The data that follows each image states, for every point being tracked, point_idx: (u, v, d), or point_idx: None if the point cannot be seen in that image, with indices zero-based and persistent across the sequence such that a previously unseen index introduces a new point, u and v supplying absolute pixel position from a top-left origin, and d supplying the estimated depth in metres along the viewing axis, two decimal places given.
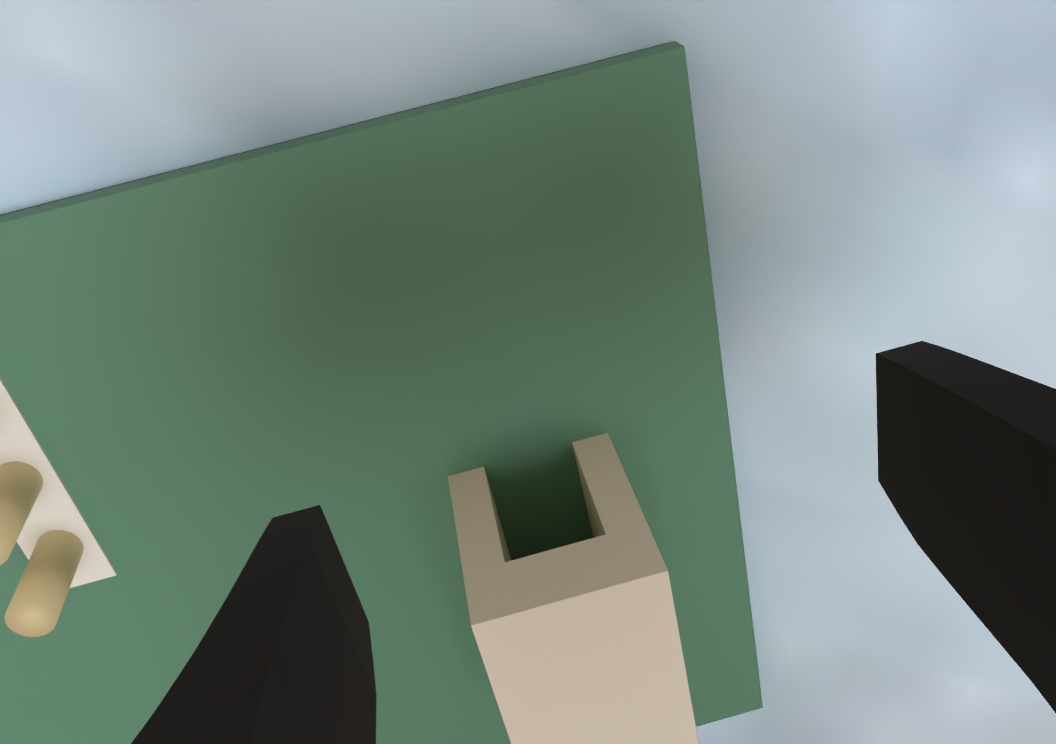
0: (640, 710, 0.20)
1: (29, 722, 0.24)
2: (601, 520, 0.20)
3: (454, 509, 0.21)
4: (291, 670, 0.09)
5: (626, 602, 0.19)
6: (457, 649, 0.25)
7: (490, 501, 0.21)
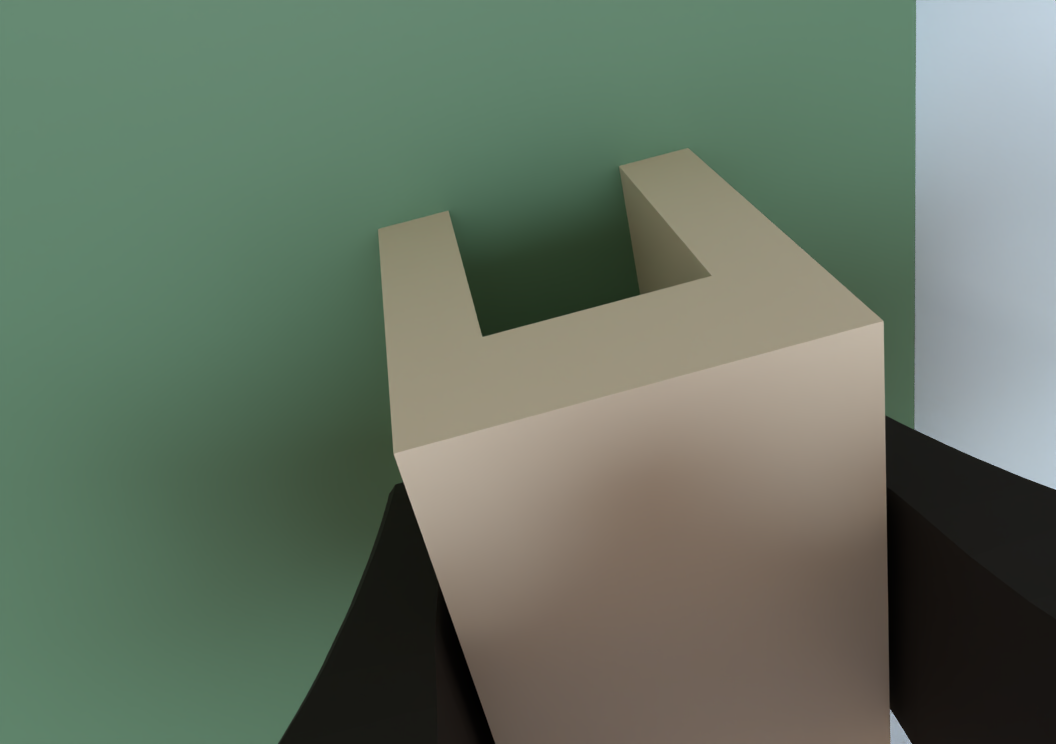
0: (779, 678, 0.09)
1: None
2: (697, 257, 0.09)
3: (384, 269, 0.10)
4: (449, 627, 0.09)
5: (776, 406, 0.08)
6: None
7: (457, 252, 0.10)
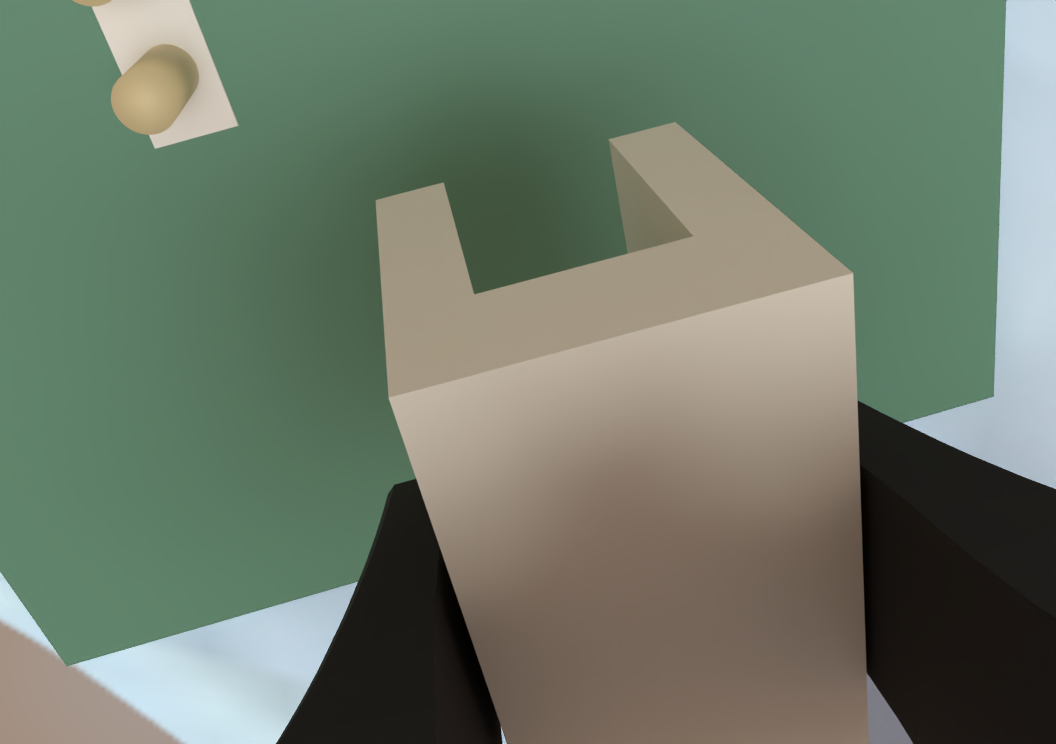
0: (758, 624, 0.10)
1: (122, 356, 0.19)
2: (680, 220, 0.10)
3: (380, 236, 0.11)
4: (446, 628, 0.09)
5: (751, 355, 0.08)
6: None
7: (451, 219, 0.11)
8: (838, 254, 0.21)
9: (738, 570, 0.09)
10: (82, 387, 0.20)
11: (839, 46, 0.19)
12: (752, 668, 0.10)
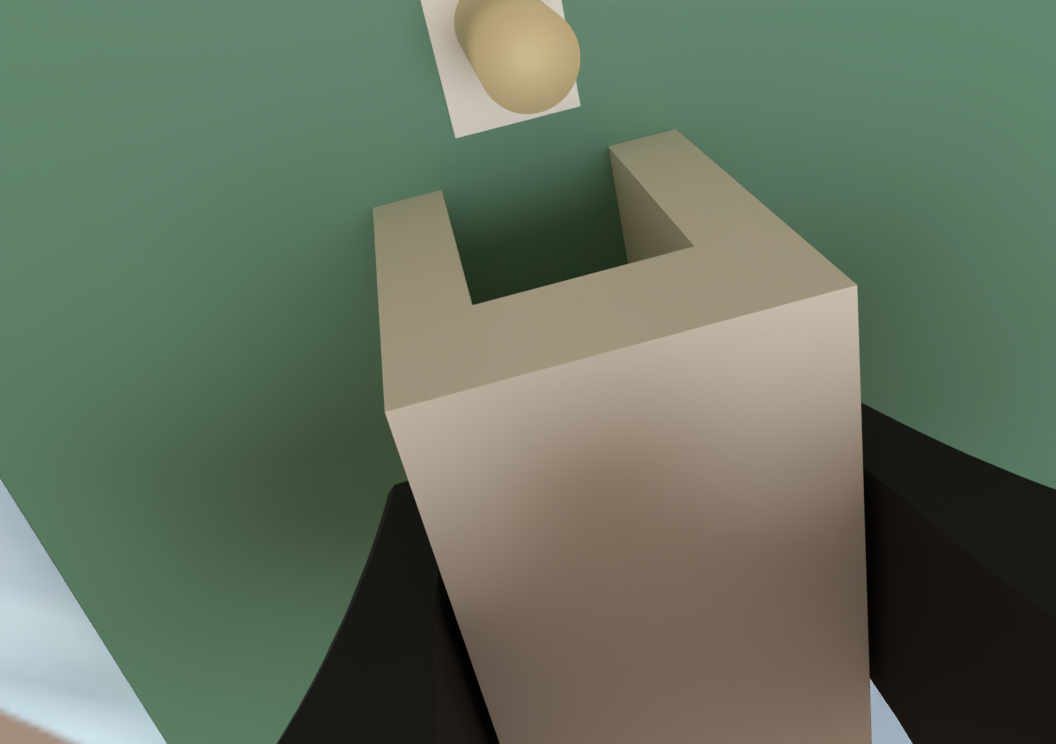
0: (761, 638, 0.10)
1: (359, 436, 0.13)
2: (681, 230, 0.09)
3: (378, 245, 0.11)
4: (446, 627, 0.09)
5: (754, 368, 0.08)
6: None
7: (449, 228, 0.11)
8: None
9: (740, 585, 0.09)
10: (298, 479, 0.14)
11: None
12: (754, 683, 0.10)
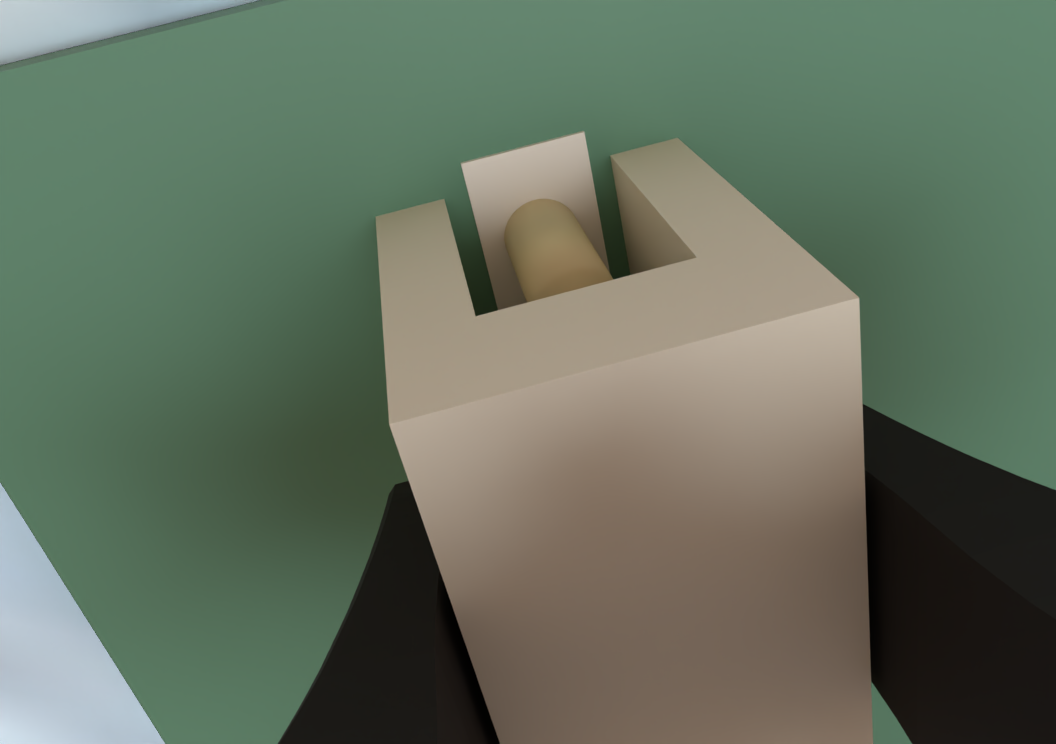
0: (763, 648, 0.10)
1: None
2: (683, 240, 0.09)
3: (381, 254, 0.11)
4: (448, 627, 0.09)
5: (756, 380, 0.08)
6: None
7: (452, 238, 0.11)
8: None
9: (742, 594, 0.09)
10: None
11: None
12: (756, 692, 0.10)
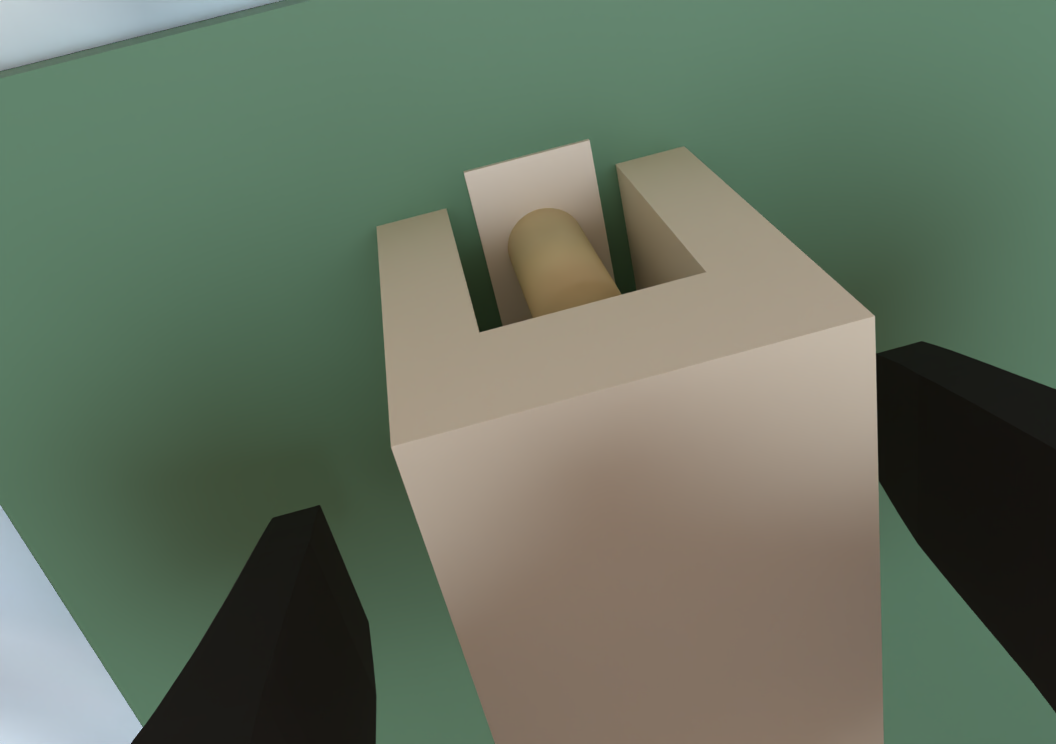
0: (773, 670, 0.09)
1: None
2: (692, 254, 0.09)
3: (382, 266, 0.11)
4: (292, 671, 0.09)
5: (769, 400, 0.08)
6: None
7: (455, 249, 0.11)
8: None
9: (752, 617, 0.09)
10: None
11: None
12: (766, 715, 0.10)
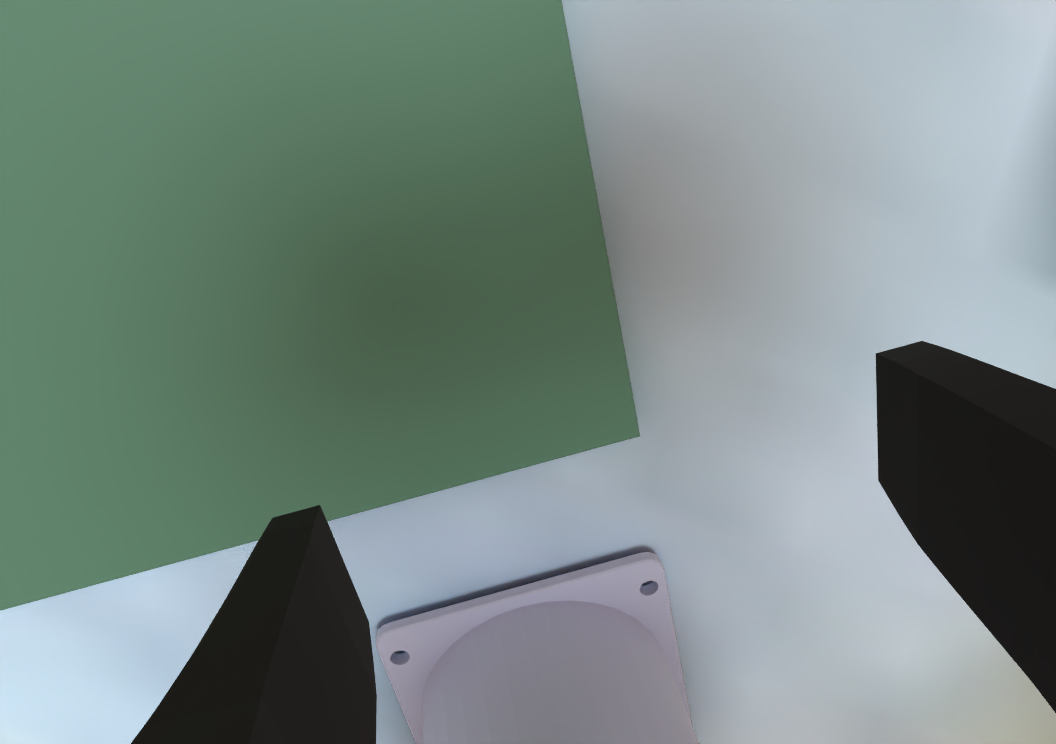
0: None
1: None
2: None
3: None
4: (291, 671, 0.09)
5: None
6: (226, 314, 0.20)
7: None
8: (437, 291, 0.20)
9: None
10: None
11: (392, 79, 0.18)
12: None
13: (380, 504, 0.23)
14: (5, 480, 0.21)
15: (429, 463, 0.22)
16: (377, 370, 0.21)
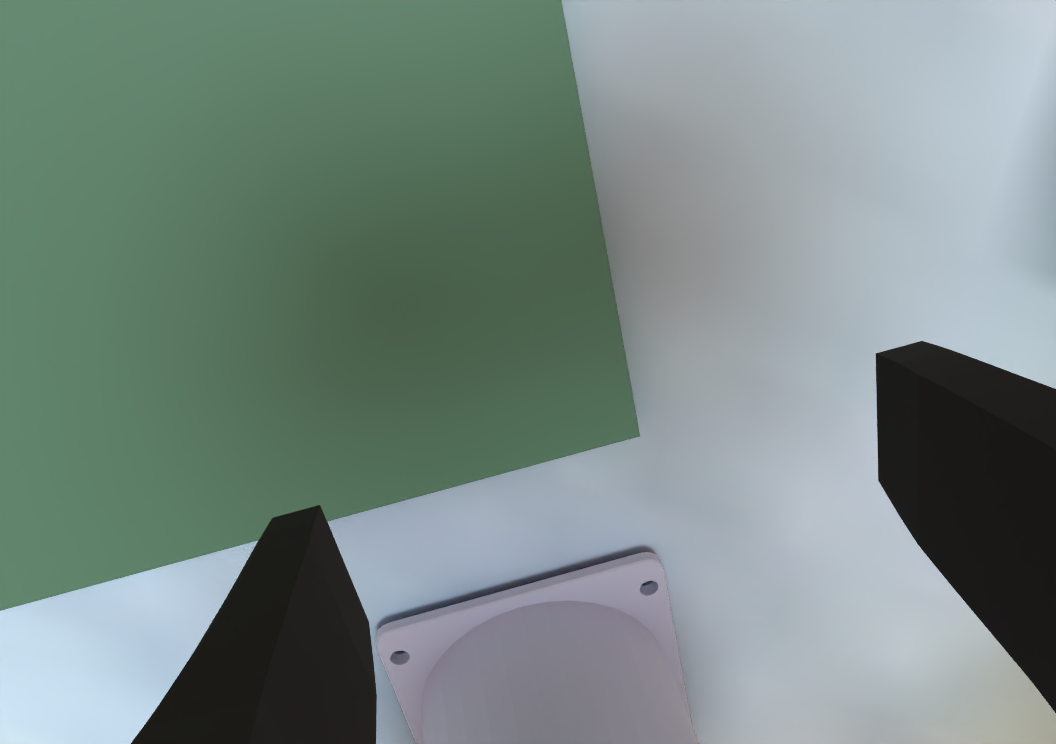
0: None
1: None
2: None
3: None
4: (293, 671, 0.09)
5: None
6: (226, 314, 0.20)
7: None
8: (437, 291, 0.20)
9: None
10: None
11: (391, 79, 0.18)
12: None
13: (380, 504, 0.23)
14: (4, 480, 0.21)
15: (429, 463, 0.22)
16: (377, 370, 0.21)
